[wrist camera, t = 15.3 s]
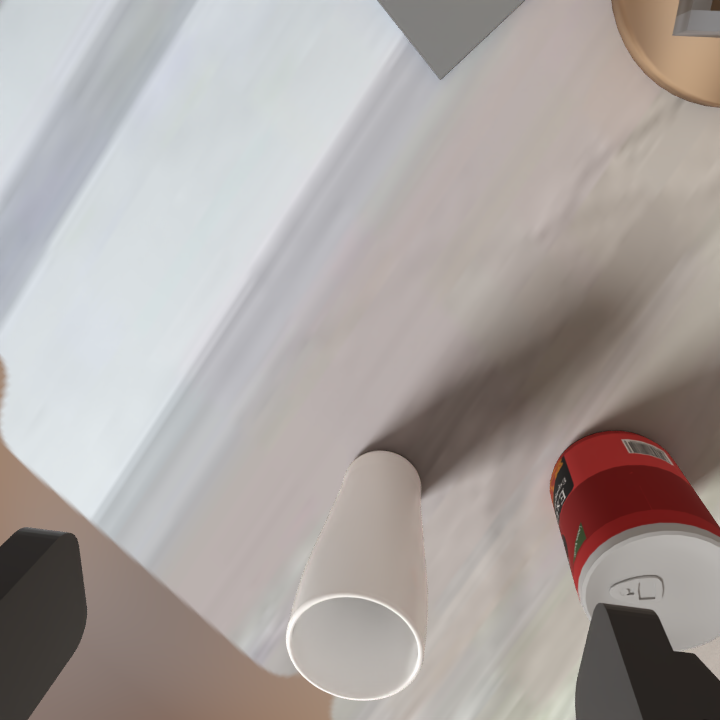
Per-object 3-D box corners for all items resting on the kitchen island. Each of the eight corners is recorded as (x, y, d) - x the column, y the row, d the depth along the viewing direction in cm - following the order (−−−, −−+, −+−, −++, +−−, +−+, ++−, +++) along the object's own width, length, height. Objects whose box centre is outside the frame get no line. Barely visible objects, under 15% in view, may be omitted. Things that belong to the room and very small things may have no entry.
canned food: (530, 450, 41) (559, 557, 31) (654, 408, 39) (728, 509, 29) (569, 541, 43) (608, 671, 33) (689, 507, 41) (769, 633, 31)
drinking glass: (314, 469, 44) (254, 631, 30) (391, 419, 42) (365, 567, 28) (374, 537, 45) (343, 722, 31) (452, 492, 43) (455, 668, 29)
